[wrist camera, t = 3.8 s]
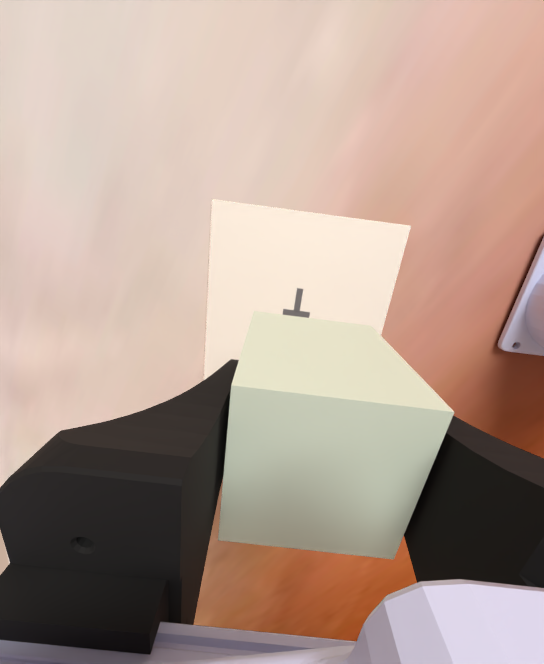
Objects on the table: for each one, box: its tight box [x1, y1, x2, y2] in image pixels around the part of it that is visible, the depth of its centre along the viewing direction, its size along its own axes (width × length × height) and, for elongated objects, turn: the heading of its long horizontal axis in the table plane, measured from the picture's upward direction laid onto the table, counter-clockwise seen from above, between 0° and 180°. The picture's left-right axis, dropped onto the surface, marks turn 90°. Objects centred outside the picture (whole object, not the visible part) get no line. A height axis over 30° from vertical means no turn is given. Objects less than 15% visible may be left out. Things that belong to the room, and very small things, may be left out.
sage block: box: [218, 311, 454, 559], centre depth 10 cm, size 5×5×6 cm
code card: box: [204, 199, 411, 380], centre depth 19 cm, size 12×14×1 cm
